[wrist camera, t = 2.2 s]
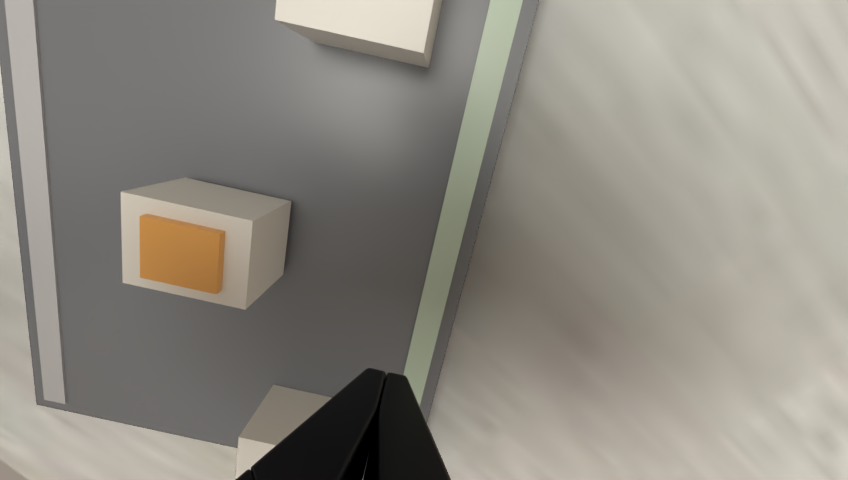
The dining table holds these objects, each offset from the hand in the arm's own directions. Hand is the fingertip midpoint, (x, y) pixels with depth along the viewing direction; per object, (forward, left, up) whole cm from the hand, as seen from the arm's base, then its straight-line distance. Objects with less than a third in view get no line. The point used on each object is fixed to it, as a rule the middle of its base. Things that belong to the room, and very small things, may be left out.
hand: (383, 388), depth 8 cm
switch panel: (-7, 0, -9) cm, 12 cm away
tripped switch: (-7, 0, -7) cm, 10 cm away
